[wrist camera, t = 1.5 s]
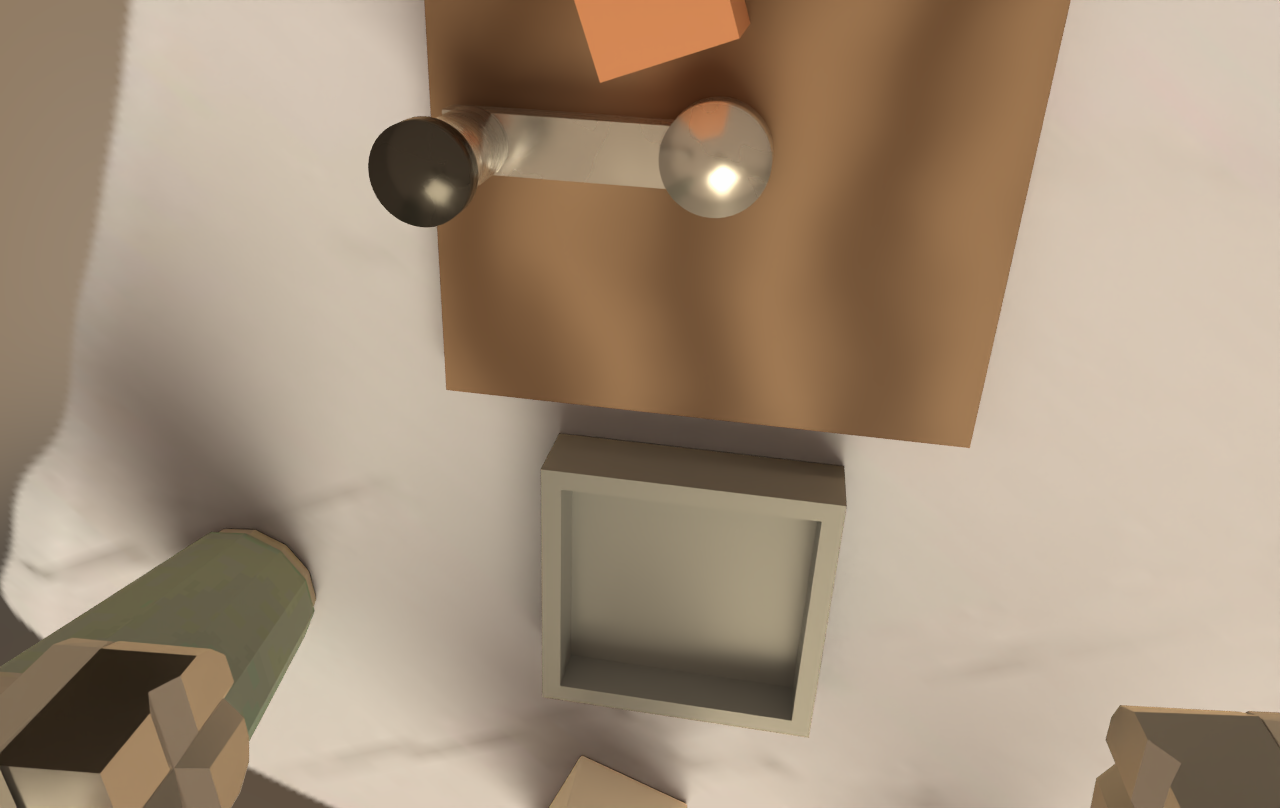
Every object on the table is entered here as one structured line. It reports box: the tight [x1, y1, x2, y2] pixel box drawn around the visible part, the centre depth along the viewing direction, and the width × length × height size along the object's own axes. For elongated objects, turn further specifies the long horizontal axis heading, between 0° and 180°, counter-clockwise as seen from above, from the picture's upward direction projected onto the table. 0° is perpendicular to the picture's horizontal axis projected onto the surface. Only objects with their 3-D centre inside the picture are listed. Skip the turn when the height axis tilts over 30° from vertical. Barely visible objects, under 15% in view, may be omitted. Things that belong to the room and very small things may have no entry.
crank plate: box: [424, 0, 1070, 448], centre depth 32 cm, size 20×20×2 cm
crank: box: [368, 97, 774, 227], centre depth 29 cm, size 11×4×6 cm, turn 88°
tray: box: [541, 433, 847, 738], centre depth 40 cm, size 12×12×3 cm
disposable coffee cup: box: [0, 529, 316, 741], centre depth 39 cm, size 11×11×15 cm
